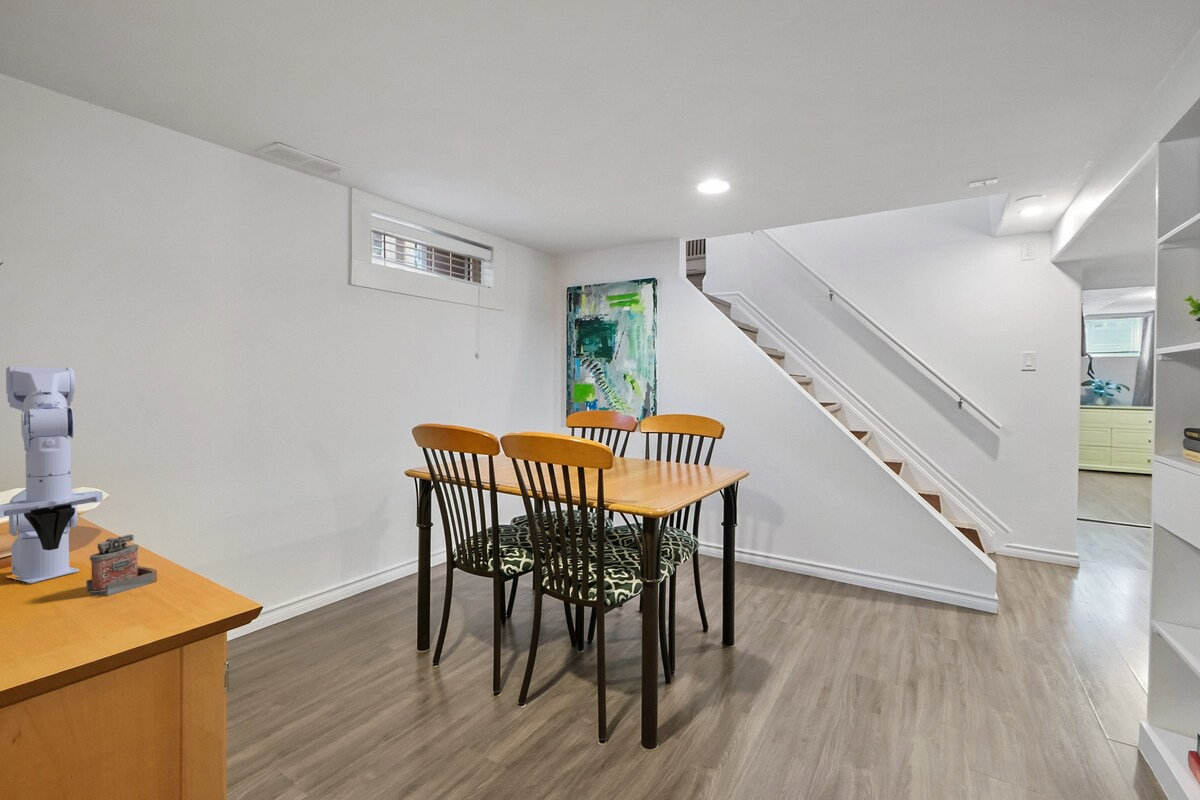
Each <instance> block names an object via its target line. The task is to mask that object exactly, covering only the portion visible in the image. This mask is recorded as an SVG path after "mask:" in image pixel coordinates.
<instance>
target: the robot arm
mask: <svg viewBox="0 0 1200 800" xmlns="http://www.w3.org/2000/svg"><path fill="white" fill-rule="evenodd" d="M5 380H6V381H5V385H6V386H5V387H6V388H5V390H6V394H7V396H6V397H7V402H8V404H9V407H10V408H12V409H17V410H19V411H21V414H20V415H21V418H20V419H21V420H20V421H21V424H20V426H21V428H20V429H21V437H22V439H23V445H24V446H23V449H24V451H25V452H26V453H25V489H23V490H22V491H20V492H18V493H17V494H15V495H13V496H12V497H11V499H10V500H9V502H8V503H7V502H6V503H3V504H0V519H3V518H4V517H8V530H9V531H8V533H9V535H11V536H12V537H16V536H17V537H16V539H14V541H13V543H12V544H11V549H10V553H11V555H10V556H11V558H10V559H11V560H10V561H11V574H14V575H17V576H19V577H15V578H16V579H18V580H21V581H24V582H27V583H26V584H28V583H29V584H34V583H38V582H42V581H45V580H50V579H54V578H58V577H62V576H65V575H66V576H67V575H70V574H74V573H77V572H80V569H79V568H76V567H71V566H70V542H69V541H70V538H69V535H70V534H69V532H71V529H74V528H75V527H76V526H77V525H78V521H79V520H78V517H79V515H78V505H80V506H81V505H85V504H91V503H102V502H104V499H103V498H104V497H103V496H104V495H103V491H98V490H94V491H88V492H87V491H85V492H76V493H75V492H74V491H73V480H72V479H73V475H72V471H73V470H72V439H74V434H75V432H76V431H75V430H76V427H75V426H76V424H75V422H76V421H75V413H74V411H73V408H72V407H71V405H72V403H73V401H74V400H73V399H74V394H75V388H76V377H75V370H74V369H73V368H72V367H70V366H66V367H54V366H53V367H51V366H50V367H49V366H48V367H47V366H46V367H45V366H14V365H8V367H6V368H5ZM68 437H70V438H71V439H70V438H68ZM24 582H23V583H24Z"/></svg>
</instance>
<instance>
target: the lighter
mask: <svg viewBox="0 0 1200 800" xmlns="http://www.w3.org/2000/svg"><path fill="white" fill-rule="evenodd" d="M134 537H135V536H134V534H125V535H122V536H119V537H109V538H107V539H106V540H105V541H102V542H99V543H97V550H98V552H97V553H94V554H91V555H90V556H89V560H90V562H91V563H90V564H91V579H92V590H90V596H92V597H98V596H103V595H106V585H108V584H112V583H116V582H119V581H123V580H126V579H130V578H133V577H137V576H138V566H139V565H138V550H139V549H140V547H139V544H128V543H129V542H133V541H135V539H134Z"/></svg>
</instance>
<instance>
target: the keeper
mask: <svg viewBox="0 0 1200 800" xmlns="http://www.w3.org/2000/svg"><path fill="white" fill-rule="evenodd" d="M157 571H158V570H157V569H154V568H150V567H145V566H140V565H138V576H137V577H133V578H130V579H126V580H123V581H119V582H116V583H112V584H108V585H106V594H105V595H106V596H107V597H109V596H112V595H115V594H118V593H119V594H120V593H123V592H126V591H130V590H133V589H136V588H139V587H142V586H145V585H149V584H153V583H156V582H158V573H157ZM85 582H86V591H87V592H91V590H92V578H90V579H88V580H86V581H85Z"/></svg>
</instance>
